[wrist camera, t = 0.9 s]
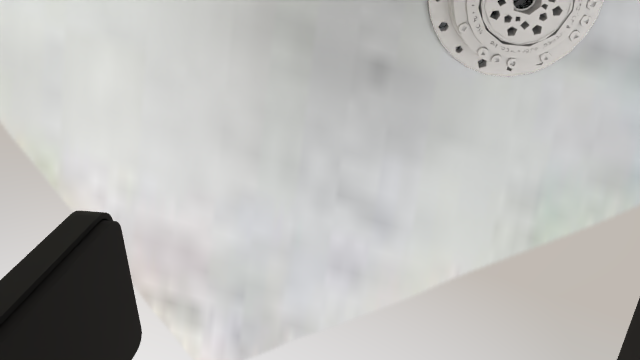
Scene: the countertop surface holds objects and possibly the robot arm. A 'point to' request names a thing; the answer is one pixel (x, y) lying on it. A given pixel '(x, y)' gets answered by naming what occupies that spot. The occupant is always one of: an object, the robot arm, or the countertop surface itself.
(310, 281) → the countertop surface
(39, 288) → the robot arm
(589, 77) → the countertop surface
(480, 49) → the mechanical component
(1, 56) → the countertop surface
